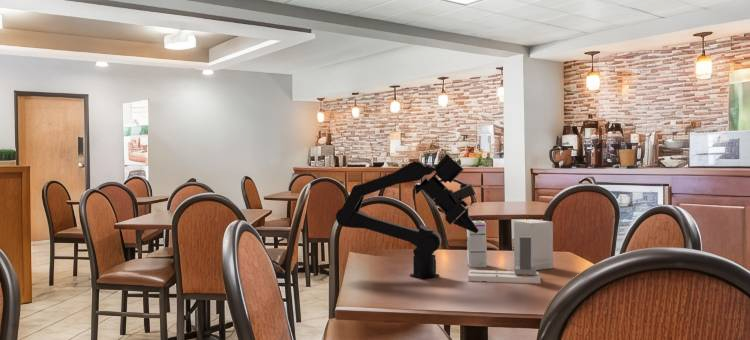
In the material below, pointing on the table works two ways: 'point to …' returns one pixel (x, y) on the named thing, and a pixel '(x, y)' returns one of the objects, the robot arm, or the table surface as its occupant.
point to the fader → (525, 257)
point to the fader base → (502, 276)
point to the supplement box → (535, 242)
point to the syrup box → (477, 246)
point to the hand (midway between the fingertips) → (477, 232)
